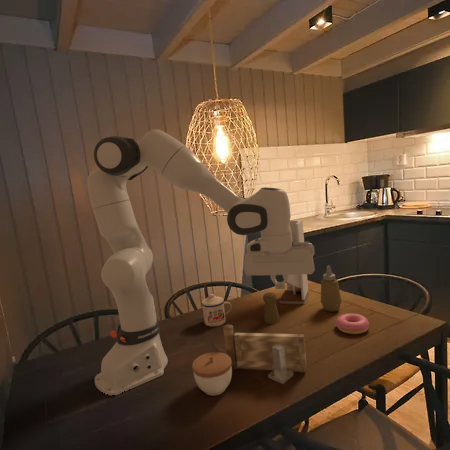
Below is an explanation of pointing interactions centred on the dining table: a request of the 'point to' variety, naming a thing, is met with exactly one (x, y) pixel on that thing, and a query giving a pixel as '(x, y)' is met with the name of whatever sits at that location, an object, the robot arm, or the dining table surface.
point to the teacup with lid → (214, 310)
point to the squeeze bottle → (330, 292)
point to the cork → (270, 309)
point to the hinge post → (230, 344)
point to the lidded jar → (212, 372)
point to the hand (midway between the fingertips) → (280, 288)
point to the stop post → (279, 365)
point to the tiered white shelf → (296, 283)
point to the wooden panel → (269, 349)
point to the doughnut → (352, 323)
